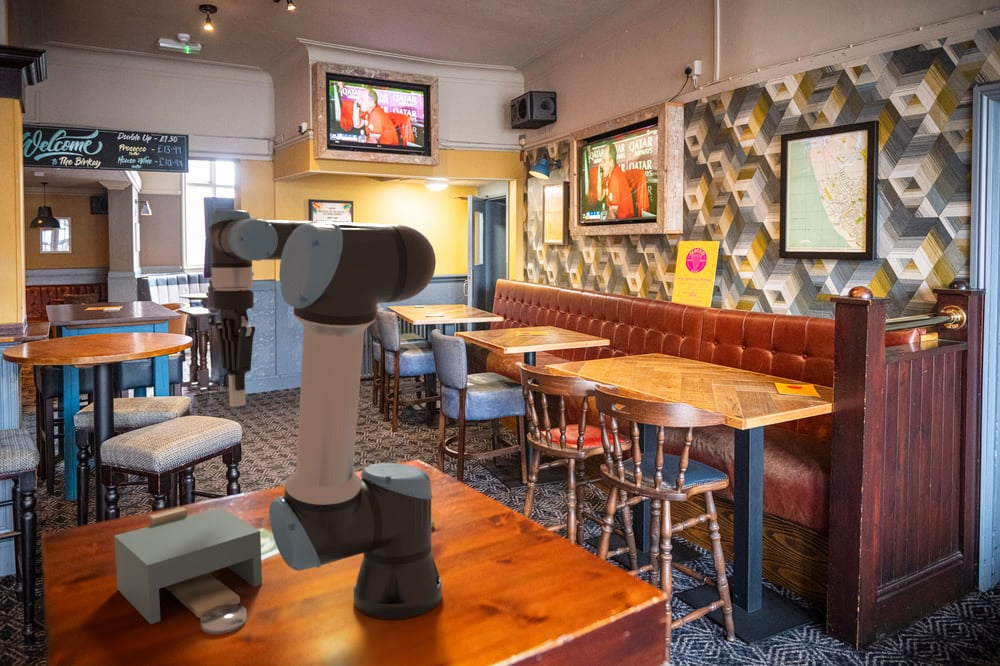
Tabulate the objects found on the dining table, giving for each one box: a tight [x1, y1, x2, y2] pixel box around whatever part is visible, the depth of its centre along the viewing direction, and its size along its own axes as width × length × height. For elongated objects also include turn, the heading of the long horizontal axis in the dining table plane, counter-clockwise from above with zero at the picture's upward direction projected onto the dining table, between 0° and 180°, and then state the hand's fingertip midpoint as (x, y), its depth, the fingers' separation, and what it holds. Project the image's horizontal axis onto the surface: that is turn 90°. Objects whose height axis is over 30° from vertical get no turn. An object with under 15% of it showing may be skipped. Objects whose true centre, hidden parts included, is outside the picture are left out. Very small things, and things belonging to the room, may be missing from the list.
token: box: [199, 604, 248, 635], centre depth 113 cm, size 7×7×2 cm
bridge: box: [113, 507, 263, 625], centre depth 123 cm, size 16×19×10 cm
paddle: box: [148, 506, 241, 619], centre depth 123 cm, size 22×7×11 cm, turn 46°
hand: (237, 405), depth 141 cm, fingers closed
